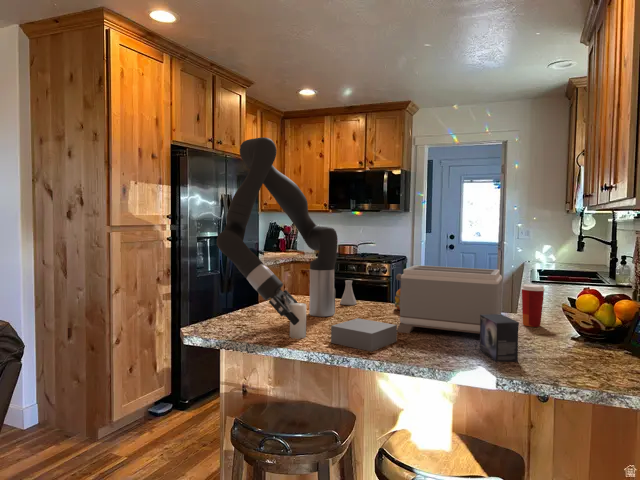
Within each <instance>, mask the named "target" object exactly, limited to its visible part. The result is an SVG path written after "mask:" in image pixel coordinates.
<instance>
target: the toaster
mask: <svg viewBox="0 0 640 480" xmlns="http://www.w3.org/2000/svg"><path fill="white" fill-rule="evenodd" d="M395 279H396V280H397V281H400V287H399V289H400V297H399V300H400V305H399V308H400V310H399V325H398V326H397V333H404V334H410V333H412V332H413V330H414V329H415V327H417V328H426V329H435V330H442V331H443V330H444V331H451V332H452V331H453V332H462V333H471V334H477V335H480V315H486V314H502V302H503V301H502V300H503V299H502V298H503V296H502V293H503V276H502V274H500V269H495V268H492V269H491V268H472V267H459V266H457V267H455V266H435V265H419V264H416V265H412V266H410V267H407V268H406V267H405V268H404V269H403V273H402V274H401V273H397V274H396V275H395Z"/></svg>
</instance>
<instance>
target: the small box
mask: <svg viewBox="0 0 640 480" xmlns="http://www.w3.org/2000/svg"><path fill="white" fill-rule="evenodd" d="M519 324H520V322H519V321H517V320H514V319H512V318H510V317H508V316H506V315H503V314H502V313H501V314H486V315H480V334H479V351H480V352H481V353H483V354H484V355H485V356H487V357H489V358H490V359H491V360H492V361H495V362H496V363H501V362H503V363H506V362H507V363H508V362H518V361H519Z"/></svg>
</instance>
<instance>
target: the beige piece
mask: <svg viewBox="0 0 640 480" xmlns="http://www.w3.org/2000/svg"><path fill="white" fill-rule="evenodd" d="M290 310H291V311H292V312H293V313H294V315H295V316H296V317H297V318H298V319H299V322H298V323H297V324H296V325H293V324H292V323H291V322H290V321H289V338H290V337H291V338H290V339H294V338H296V339H295V340H299V339H301V338H302V339H305V338H307V304H306V303H303V302H298V303H292V304H290Z"/></svg>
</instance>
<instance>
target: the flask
mask: <svg viewBox="0 0 640 480" xmlns="http://www.w3.org/2000/svg"><path fill="white" fill-rule="evenodd" d="M344 282H345V287H344V291H343V294H342V296H341V300H340V302H339V304H340V305H345V306H354V305H357V304H358V303H357V300H356V297H355V294H354V290H353V285H352V284H353V280H349V279H348V280H344Z"/></svg>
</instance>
